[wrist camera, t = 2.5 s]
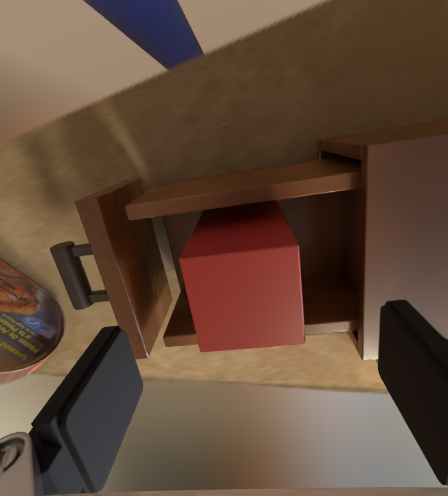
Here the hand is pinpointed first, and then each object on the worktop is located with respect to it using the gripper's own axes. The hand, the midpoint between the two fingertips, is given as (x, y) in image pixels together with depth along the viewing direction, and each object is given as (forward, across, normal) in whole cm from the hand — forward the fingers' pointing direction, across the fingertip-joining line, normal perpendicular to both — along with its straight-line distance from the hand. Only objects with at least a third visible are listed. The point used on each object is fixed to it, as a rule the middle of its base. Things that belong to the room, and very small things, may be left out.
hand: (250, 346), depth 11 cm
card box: (+11, 0, 0) cm, 11 cm away
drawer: (+12, +2, 0) cm, 12 cm away
